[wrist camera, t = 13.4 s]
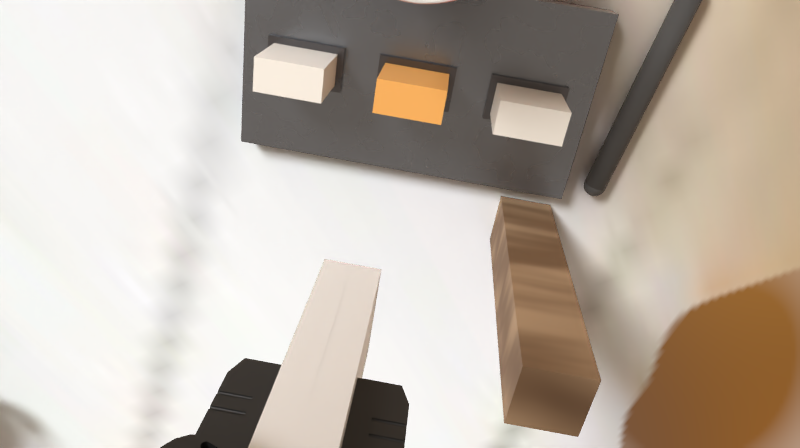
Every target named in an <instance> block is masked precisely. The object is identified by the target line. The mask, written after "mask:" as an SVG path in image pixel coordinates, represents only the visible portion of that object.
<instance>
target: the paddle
mask: <svg viewBox="0 0 800 448" xmlns="http://www.w3.org/2000/svg"><path fill="white" fill-rule="evenodd" d="M337 56H338V54H333V53H328V52H322V51H316V50H311V49H305V48H300V47H294V46H288V45H283V44H277V43H273V44H272V45H270V46H269V47H267V48H266V49H265V50H263V51H262V52H260V53H259V54H257V55H256V56H254V71H253V92H259V93H264V94H270V95H276V96H281V97H287V98H292V99H298V100H304V101H309V102H315V103H320V104H321V103H322V102H323V100H324V99H325V98H326V96H327V95H328V94H329V92H330V91H331V90H332V88H333V87H334V85H335V76H336V66H337Z"/></svg>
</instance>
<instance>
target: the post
mask: <svg viewBox="0 0 800 448" xmlns="http://www.w3.org/2000/svg"><path fill="white" fill-rule="evenodd" d="M490 244H491V257H492V270H493V283H494V296H495V309H496V322H497V335H498V348H499V361H500V374H501V387H502V400H503V413H504V423H507V424H512V425H517V426H523V427H528V428H534V429H539V430H544V431H550V432H555V433H561V434H566V435H571V436H577V437H578V436H579V433H580V431H581V428H582V426H583V424H584V421H585V419H586V416H587V414H588V411H589V409H590V406H591V404H592V402H593V399H594V397H595V394H596V392H597V389H598V387H599V385H600V382H601V379H600V375H599V372H598V368H597V365H596V361H595V358H594V354H593V351H592V348H591V344H590V341H589V337H588V334H587V330H586V327H585V324H584V320H583V317H582V313H581V310H580V306H579V303H578V299H577V296H576V293H575V289H574V286H573V282H572V279H571V275H570V272H569V269H568V265H567V262H566V258H565V255H564V251H563V248H562V244H561V241H560V238H559V234H558V231H557V227H556V224H555V220H554V217H553V214H552V210H551V207H550V205H547V204H541V203H536V202H530V201H524V200H519V199H513V198H508V197H502V196H501V199H500V203H499V206H498V210H497V214H496V218H495V222H494V226H493V230H492V234H491V238H490Z"/></svg>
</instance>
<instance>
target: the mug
mask: <svg viewBox="0 0 800 448" xmlns="http://www.w3.org/2000/svg"><path fill="white" fill-rule="evenodd" d="M400 1H404V2H408V3H414V4H440V3H447V2H451V1H456V0H400Z"/></svg>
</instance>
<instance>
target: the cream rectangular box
mask: <svg viewBox="0 0 800 448" xmlns="http://www.w3.org/2000/svg"><path fill="white" fill-rule="evenodd" d="M571 114H572V113H571V111H570V109H569V107H568V105H567V103H566V101H565V99H564V98H563V96H562V94H559V93H553V92H548V91H542V90H536V89H531V88H525V87H519V86H514V85H508V84H502V83H497V86H496V91H495V95H494V99H493V104H492V108H491V112H490V116H491V125H492V133H493V134H494V135H499V136H505V137H511V138H516V139H522V140H527V141H533V142H539V143H544V144H550V145H555V146H561V147H562V144H563V141H564V138H565V134H566V131H567V127H568V124H569V121H570V117H571Z"/></svg>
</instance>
